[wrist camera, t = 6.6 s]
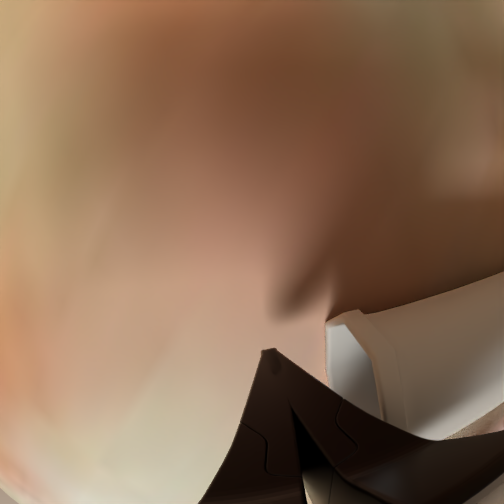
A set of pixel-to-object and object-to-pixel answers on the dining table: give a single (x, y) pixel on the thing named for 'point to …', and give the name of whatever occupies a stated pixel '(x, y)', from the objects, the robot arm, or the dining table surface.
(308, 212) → the dining table surface
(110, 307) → the dining table surface
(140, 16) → the dining table surface
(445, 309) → the tube
